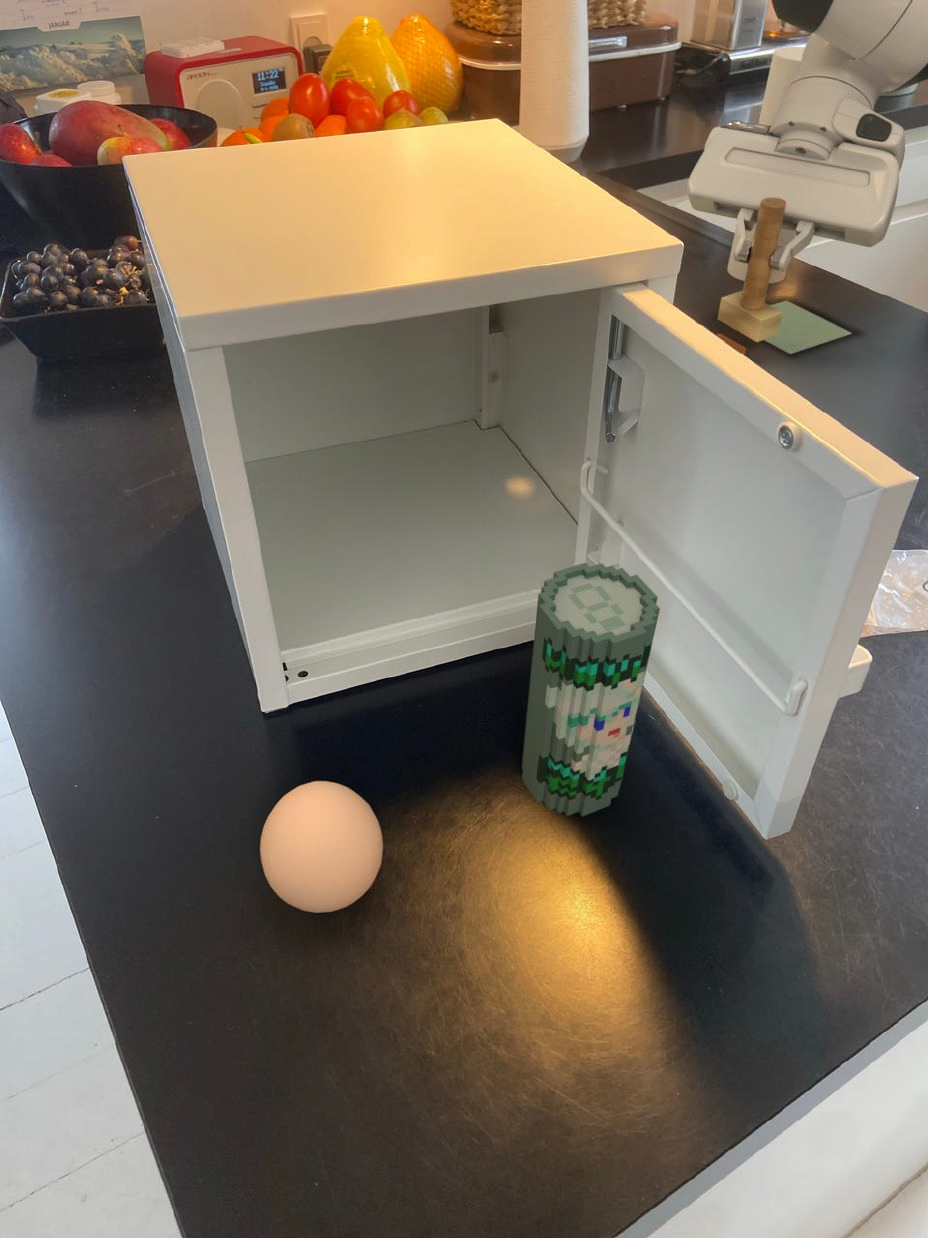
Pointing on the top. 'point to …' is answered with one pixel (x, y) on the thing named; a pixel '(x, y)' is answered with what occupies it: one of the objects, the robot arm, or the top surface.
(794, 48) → the cylindrical container
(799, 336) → the flat green square plate
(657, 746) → the top surface
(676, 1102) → the top surface
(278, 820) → the egg
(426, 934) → the top surface
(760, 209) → the mallet
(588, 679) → the can
